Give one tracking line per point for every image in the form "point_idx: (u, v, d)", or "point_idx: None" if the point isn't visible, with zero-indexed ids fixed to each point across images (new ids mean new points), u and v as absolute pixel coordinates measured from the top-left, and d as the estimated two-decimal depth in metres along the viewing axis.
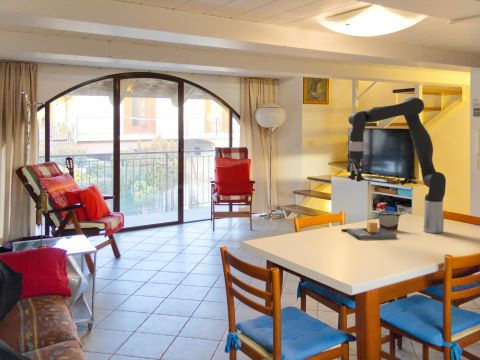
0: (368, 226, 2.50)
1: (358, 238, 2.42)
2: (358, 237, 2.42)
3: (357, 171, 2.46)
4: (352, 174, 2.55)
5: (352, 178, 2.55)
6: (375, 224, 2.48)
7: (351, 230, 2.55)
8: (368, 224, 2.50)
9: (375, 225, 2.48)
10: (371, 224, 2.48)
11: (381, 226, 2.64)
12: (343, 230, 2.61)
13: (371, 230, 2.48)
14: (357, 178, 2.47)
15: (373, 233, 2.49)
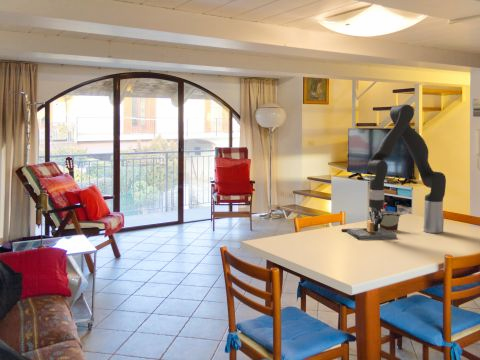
0: (368, 226, 2.50)
1: (358, 238, 2.42)
2: (358, 237, 2.42)
3: None
4: None
5: None
6: None
7: (351, 230, 2.55)
8: (368, 224, 2.50)
9: None
10: (371, 224, 2.48)
11: (381, 226, 2.64)
12: (343, 230, 2.61)
13: (371, 230, 2.49)
14: (374, 228, 2.45)
15: (373, 233, 2.50)
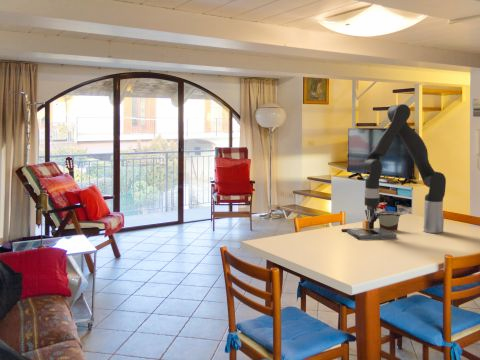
0: (364, 224, 2.56)
1: (358, 238, 2.42)
2: (358, 237, 2.42)
3: (370, 220, 2.50)
4: None
5: None
6: None
7: (351, 230, 2.55)
8: (364, 222, 2.56)
9: None
10: (367, 222, 2.54)
11: (381, 226, 2.64)
12: (343, 230, 2.61)
13: (367, 228, 2.54)
14: (370, 226, 2.51)
15: (368, 231, 2.55)
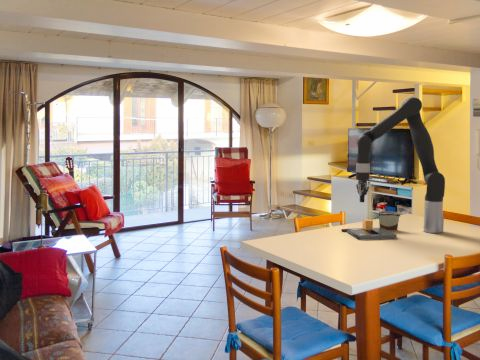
0: (364, 224, 2.56)
1: (358, 238, 2.42)
2: (358, 237, 2.42)
3: (361, 193, 2.62)
4: None
5: None
6: (370, 222, 2.54)
7: (351, 230, 2.55)
8: (364, 222, 2.56)
9: (370, 223, 2.54)
10: (367, 222, 2.54)
11: (381, 226, 2.64)
12: (343, 230, 2.61)
13: (367, 228, 2.54)
14: (361, 199, 2.63)
15: (369, 231, 2.55)
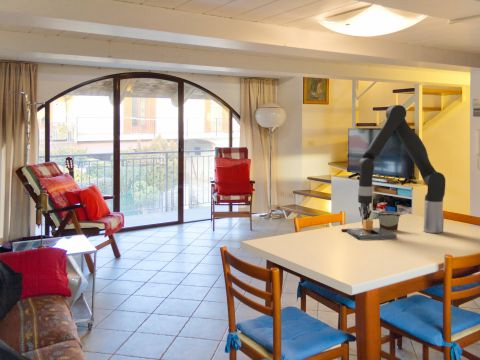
0: (364, 224, 2.56)
1: (358, 238, 2.42)
2: (358, 237, 2.42)
3: None
4: None
5: None
6: (371, 222, 2.54)
7: (351, 230, 2.55)
8: (364, 222, 2.56)
9: (371, 223, 2.54)
10: (367, 222, 2.54)
11: (381, 226, 2.64)
12: (343, 230, 2.61)
13: (367, 228, 2.54)
14: None
15: (369, 231, 2.55)
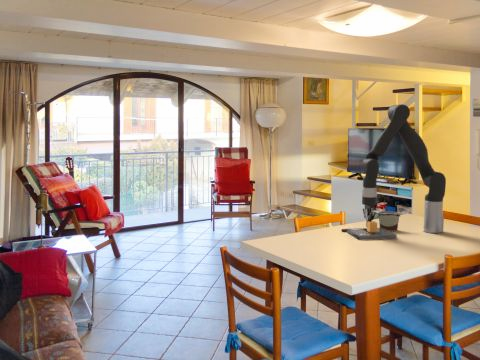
0: (368, 226, 2.50)
1: (358, 238, 2.42)
2: (358, 237, 2.42)
3: None
4: None
5: None
6: (375, 224, 2.49)
7: (351, 230, 2.55)
8: (368, 224, 2.50)
9: (375, 225, 2.49)
10: (371, 224, 2.48)
11: (381, 226, 2.64)
12: (343, 230, 2.61)
13: (371, 230, 2.49)
14: None
15: (373, 233, 2.49)
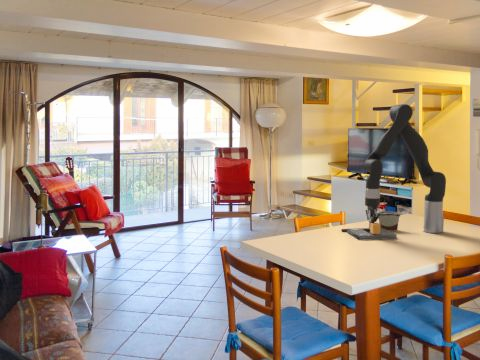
0: (371, 228, 2.46)
1: (358, 238, 2.42)
2: (358, 237, 2.42)
3: None
4: None
5: None
6: (378, 226, 2.44)
7: (351, 230, 2.55)
8: (371, 226, 2.46)
9: (378, 227, 2.44)
10: (374, 226, 2.44)
11: (381, 226, 2.64)
12: (343, 230, 2.61)
13: (374, 232, 2.44)
14: None
15: None
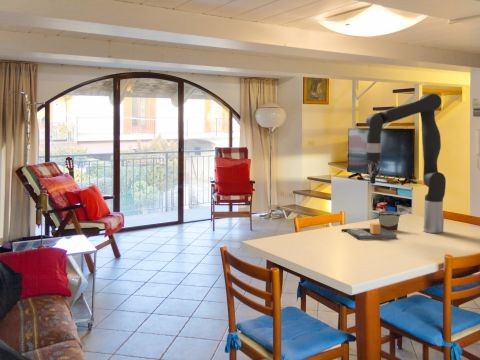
0: (371, 228, 2.46)
1: (358, 238, 2.42)
2: (358, 237, 2.42)
3: None
4: None
5: None
6: (378, 226, 2.44)
7: (351, 230, 2.55)
8: (371, 226, 2.46)
9: (378, 227, 2.44)
10: (374, 226, 2.44)
11: (381, 226, 2.64)
12: (343, 230, 2.61)
13: (374, 232, 2.45)
14: (371, 180, 2.55)
15: None
